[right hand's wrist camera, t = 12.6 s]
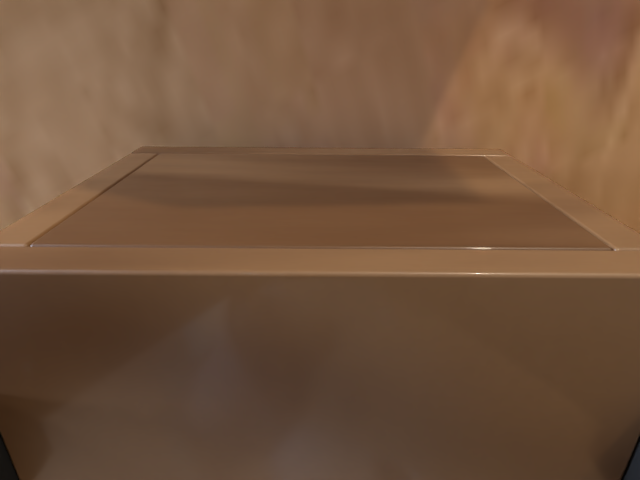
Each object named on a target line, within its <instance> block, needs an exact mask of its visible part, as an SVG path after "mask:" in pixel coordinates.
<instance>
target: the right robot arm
mask: <svg viewBox="0 0 640 480" xmlns="http://www.w3.org/2000/svg"><path fill="white" fill-rule="evenodd" d="M0 480H19V478H18V476H17V473H16V471H15V468H14V466H13V464H12V461H11V459H10V456H9V454H8V451H7V449H6V447H5V444H4V442H3V439H2V437H1V434H0ZM621 480H640V437H639V439H638V442H637V444H636V446H635V449H634V451H633V453H632V456H631V458H630V460H629V463H628V465H627V467H626V470H625V472H624V474H623V477H622V479H621Z"/></svg>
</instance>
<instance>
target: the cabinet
mask: <svg viewBox="0 0 640 480" xmlns="http://www.w3.org/2000/svg"><path fill="white" fill-rule="evenodd" d="M0 434H1V437H2V439H3V442H4V444H5V447H6V449H7V451H8V454H9V456H10V459H11V461H12V464H13V466H14V468H15V471H16V473H17V476H18V478H19V480H621V479H622V477H623V474H624V472H625V470H626V467H627V465H628V463H629V460H630V458H631V456H632V453H633V451H634V449H635V446H636V444H637V442H638V439H639V437H640V233H638V232H636V231H635V230H633V229H631V228H630V227H628V226H626V225H625V224H623V223H621V222H620V221H618V220H616V219H615V218H613V217H611V216H610V215H608V214H606V213H605V212H603V211H601V210H600V209H598V208H597V207H595V206H593V205H592V204H590V203H588V202H587V201H585V200H583V199H582V198H580V197H578V196H577V195H575V194H573V193H572V192H570V191H568V190H567V189H565V188H563V187H562V186H560V185H558V184H557V183H555V182H554V181H552V180H550V179H549V178H547V177H545V176H544V175H542V174H540V173H539V172H537V171H535V170H534V169H532V168H530V167H529V166H527V165H525V164H524V163H522V162H520V161H519V160H517V159H515V158H514V157H512V156H511V155H509V154H507V153H506V152H504V151H502V150H500V149H394V148H250V147H141V148H139V149H137V150H135V151H134V152H132V153H131V154H129V155H127V156H126V157H124V158H122V159H121V160H119V161H117V162H116V163H114V164H112V165H111V166H109V167H107V168H106V169H104V170H102V171H100V172H99V173H97V174H95V175H94V176H92V177H90V178H89V179H87V180H85V181H84V182H82V183H80V184H79V185H77V186H75V187H73V188H72V189H70V190H68V191H67V192H65V193H63V194H62V195H60V196H58V197H57V198H55V199H53V200H52V201H50V202H48V203H47V204H45V205H43V206H41V207H40V208H38V209H36V210H35V211H33V212H31V213H30V214H28V215H26V216H25V217H23V218H21V219H20V220H18V221H16V222H15V223H13V224H11V225H9V226H8V227H6V228H4V229H3V230H1V231H0Z"/></svg>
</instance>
